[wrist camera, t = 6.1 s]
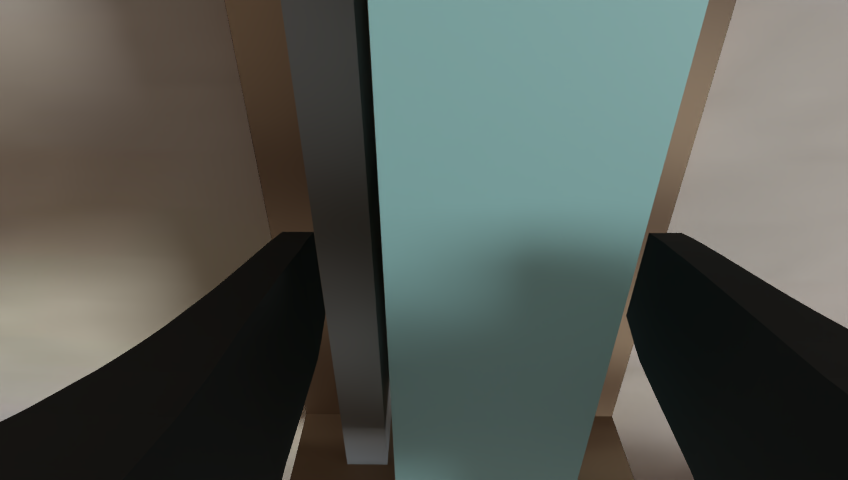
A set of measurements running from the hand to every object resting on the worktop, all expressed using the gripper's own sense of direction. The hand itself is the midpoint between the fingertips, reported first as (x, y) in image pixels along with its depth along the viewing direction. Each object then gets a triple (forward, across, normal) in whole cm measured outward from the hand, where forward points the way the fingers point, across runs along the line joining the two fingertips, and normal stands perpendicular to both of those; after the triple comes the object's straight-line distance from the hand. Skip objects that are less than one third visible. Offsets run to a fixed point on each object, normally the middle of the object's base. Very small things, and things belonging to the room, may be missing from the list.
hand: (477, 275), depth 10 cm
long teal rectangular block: (+3, 0, 0) cm, 3 cm away
